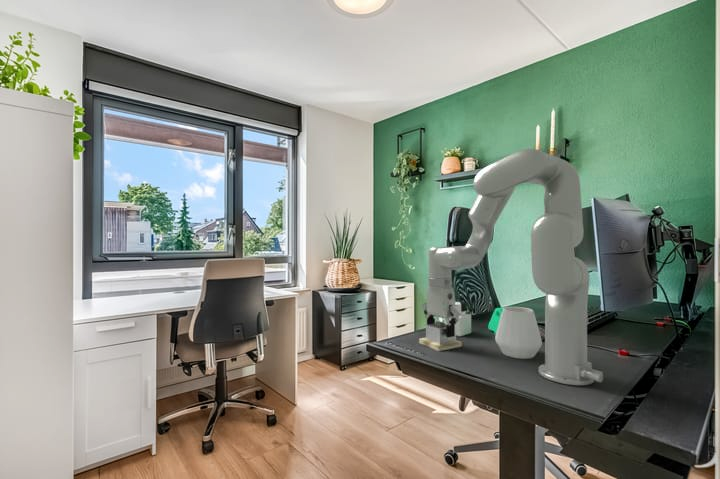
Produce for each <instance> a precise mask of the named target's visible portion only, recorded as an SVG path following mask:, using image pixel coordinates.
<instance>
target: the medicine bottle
mask: <svg viewBox="0 0 720 479" xmlns="http://www.w3.org/2000/svg"><path fill="white" fill-rule="evenodd" d="M455 304H456V310H457V311H458V312H459V313H460V316H459V318H458V321H457V322H456V325H455V327H456V336H457V337H464V336H466V335H471V333H472V314H470V313H467V303H466V302H465V301H461V300H455ZM449 320H451V319H450V318H449ZM444 323H445V324H447V322H446V320H445V319H444Z"/></svg>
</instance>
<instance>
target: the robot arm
mask: <svg viewBox="0 0 720 479" xmlns="http://www.w3.org/2000/svg"><path fill="white" fill-rule="evenodd" d="M524 183H530V184H533V185H534V184H535V185H539V186H542V187H544V196H543V205H544V206H543V207H544V214H542V215H541V216H540V217H538V218H537V219H536V220H535V221H534V223H533V225H532V228H531V232H530V252H531V273H532V278H533V282H534V284H535V286H536V287H537V289H538V290H540V291H541V292H543V293H544V294H545V302H544V303H545V304H544V305H545V306H544V364H541V365H539V366H538V373H539V375H540V376H541V377H543V378H545V379H547V380H550V381H552V382H556V383H560V384H564V385H569V386H589V385H592V384H593V383H595V382H596V383H597V382H598V383H602V382H603V380H604V375H603V374H604V373H603V371H601V370H596V369H593V368H592V366H593V365H592V362H590V361H588V301H589V300H588V299H589V298H588V297H589V289H590V272H589V269H588V266H587V265H586V263H585V262H584V261H583V260H581V258H579V257H576V256H575V248H576V247H578V246H579V245H580V244H581V242H583V238H584V223H583V222H584V221H583V204H582V194H581V193H582V192H581V181H580V176H579V173H578V171H577V170H576V167H574V166H573V164H571V163H570V161H569V162H568V161H567V160H566V159H562V158H561V157H557V156H555V155H551V154H549V153H548V152H544V151H542V150H539V149H537V148H533V147H531V148H523V149H520V150H518V151H516V152H513V153H511V154H509V155H508V156H505V157H503V158H501V159H499V160H496V161H494V162H493V163H491V164H489V165H486V166H484V167H483V168H482V169H480V170H479V171H478V172H477V173H476V175H475V176H474V179H473V184H472V185H473V189H474V191H475V193H476V194H477V197H476V198H475V200H474V201H473V204H472V206H471V208H470V210H469V212H468V218H469V221H471V224H472V230H471V233H470V237H469V238H468V241H467V243H466V244H465V245H458V246H431V247H429V249H428V287H427V291H426V292H427V294H426V302H425V303H424V304H422V308H423V313H424V315H425V316H424V317H425V319H426V325H428V324H434V323H435V322H436V319H435V317H438V318H441V319H444V321H445V320H446V322H447V324H448V325H446V337H454V336H455V325H456V322H457V321H458V318H459V316H460V313H459V312H458V311H457V310H456V304H455V301H456V296H455V290H454V288H453V287H452V285H453V281H452V271H458V270H465V269H466V270H467V269H472V268H474V267H477V266H479V264H480V262H482V260H483V258H484V257H485V255H486V254H487V252H488V250H489V249H490V246H491V244H492V241H493V237H494V236H493V235H494V227H495V225H496V223H497V221H498V219H499V218H500V216H501V214H502V213H503V211H504V209H505V207H506V205H507V203H508V202H509V201H510V199H511V197H512V196H513V193H514V191H515V189H516V186H519V185H522V184H524ZM449 318H450V319H451V320H449Z"/></svg>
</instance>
